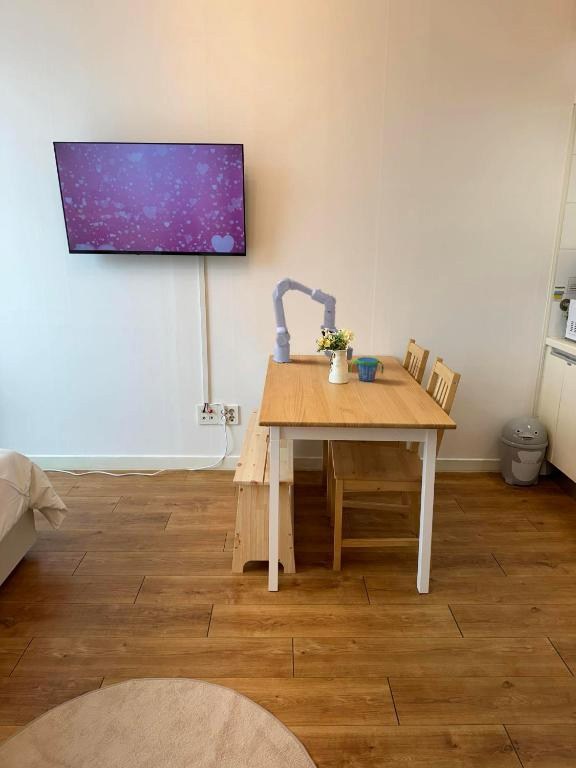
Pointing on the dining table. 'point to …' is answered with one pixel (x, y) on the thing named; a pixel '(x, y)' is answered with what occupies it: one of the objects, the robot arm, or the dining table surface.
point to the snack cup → (367, 368)
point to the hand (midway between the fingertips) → (328, 344)
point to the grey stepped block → (349, 353)
